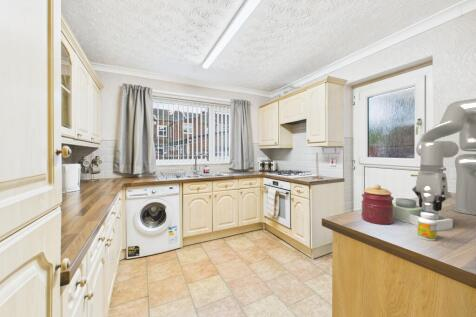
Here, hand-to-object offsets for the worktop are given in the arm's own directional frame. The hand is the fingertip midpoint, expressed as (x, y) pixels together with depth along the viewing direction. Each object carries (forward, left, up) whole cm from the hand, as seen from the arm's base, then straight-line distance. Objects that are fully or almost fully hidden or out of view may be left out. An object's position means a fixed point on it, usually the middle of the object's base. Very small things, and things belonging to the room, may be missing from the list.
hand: (429, 208), depth 95 cm
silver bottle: (0, 0, -7) cm, 7 cm away
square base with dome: (0, -5, -8) cm, 10 cm away
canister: (+17, -11, -8) cm, 22 cm away
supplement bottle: (+16, +10, -8) cm, 20 cm away
